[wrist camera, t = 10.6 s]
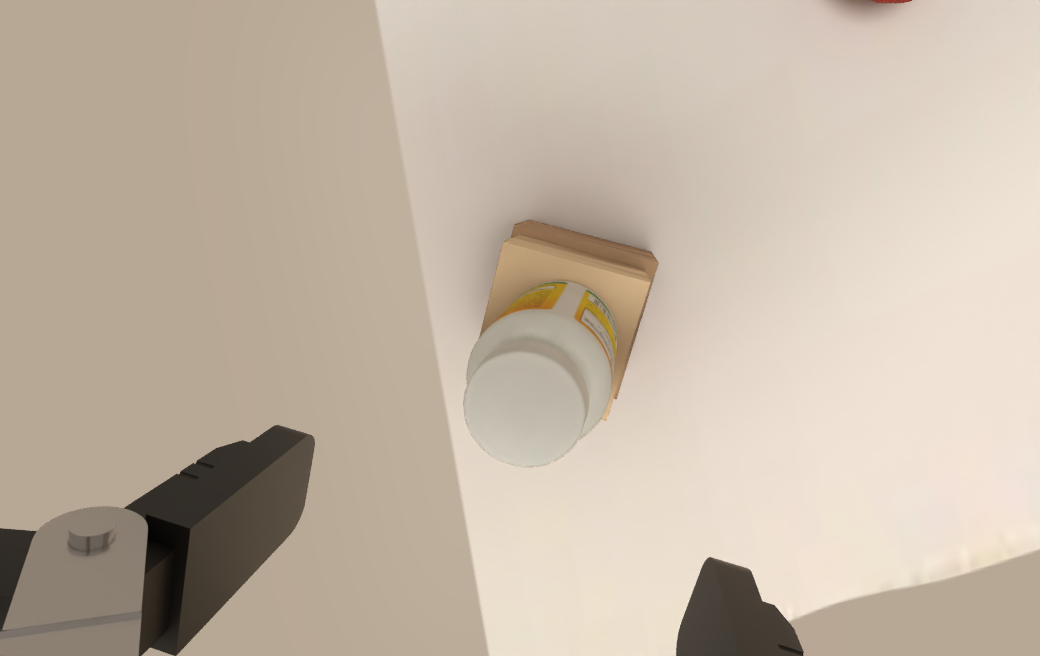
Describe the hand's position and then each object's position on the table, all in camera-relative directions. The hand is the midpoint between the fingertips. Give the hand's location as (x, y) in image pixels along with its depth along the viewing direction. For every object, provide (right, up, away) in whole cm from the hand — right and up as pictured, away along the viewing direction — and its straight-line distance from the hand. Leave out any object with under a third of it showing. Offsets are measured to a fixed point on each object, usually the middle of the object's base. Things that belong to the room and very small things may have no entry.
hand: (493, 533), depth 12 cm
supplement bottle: (+2, +4, +17) cm, 17 cm away
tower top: (+3, +5, +21) cm, 22 cm away
